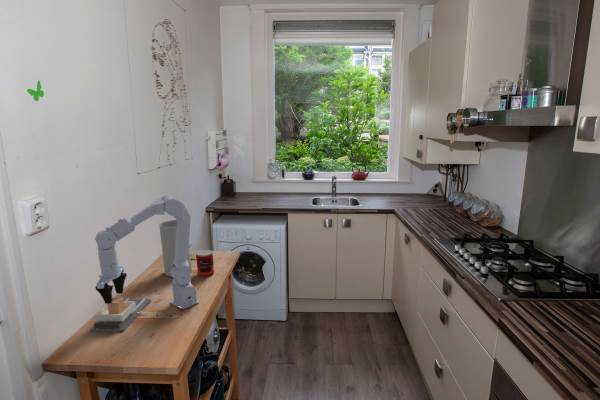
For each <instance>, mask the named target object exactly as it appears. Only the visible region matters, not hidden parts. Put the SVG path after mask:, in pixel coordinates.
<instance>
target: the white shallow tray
mask: <svg viewBox="0 0 600 400" xmlns="http://www.w3.org/2000/svg"><path fill="white" fill-rule="evenodd" d="M124 305H125V311H124V312H123V313H122V314H109V312H108V305H107V304H105V305H104V306H103V307H102V308H101V309H100V310H99V311H98V312H97V313H95V314H94V320H95V322H107V321H119V322H123V321H124V320H125V319H126V318H127V317H128V315H129V314H130V313H132V311H133V310H134V309H135V308H136V302H124Z"/></svg>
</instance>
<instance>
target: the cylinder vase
mask: <svg viewBox="0 0 600 400" xmlns="http://www.w3.org/2000/svg"><path fill="white" fill-rule="evenodd" d="M176 226H177V220H176V219H172V220H167V221H163V222H161V223H159V233H160V234H159V235H160V242H161V243H160V245H161V251H162V259H163V268H164V274H165V276H167V277H169V278H173V277H172V276H171V274H170V268H171V267H172V264H173V260H174V258H175V243H176ZM190 248H191V247H189V250H188V262H189V266H190V273H191V271H192V268H193V267H192V261H191V260H192V259H191V258H190V255H191V250H190Z"/></svg>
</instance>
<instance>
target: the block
mask: <svg viewBox="0 0 600 400" xmlns="http://www.w3.org/2000/svg"><path fill="white" fill-rule="evenodd" d="M106 305H108V312H109V314H122V313H123V312H124V311H125V305H124V297H112V303H110V304H106Z"/></svg>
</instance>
